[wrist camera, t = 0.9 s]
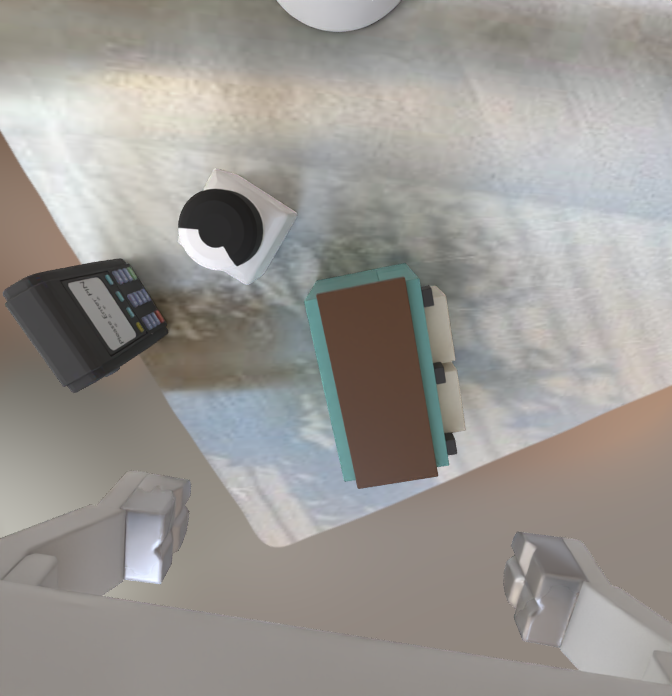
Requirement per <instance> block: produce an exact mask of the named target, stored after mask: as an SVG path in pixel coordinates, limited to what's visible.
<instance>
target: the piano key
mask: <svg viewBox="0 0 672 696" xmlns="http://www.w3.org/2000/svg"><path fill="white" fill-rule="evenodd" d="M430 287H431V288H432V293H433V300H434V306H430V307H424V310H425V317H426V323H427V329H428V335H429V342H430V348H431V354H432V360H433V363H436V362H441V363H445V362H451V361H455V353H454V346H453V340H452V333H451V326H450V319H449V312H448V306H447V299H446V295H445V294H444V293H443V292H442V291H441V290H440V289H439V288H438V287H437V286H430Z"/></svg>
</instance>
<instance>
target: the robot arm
mask: <svg viewBox="0 0 672 696" xmlns="http://www.w3.org/2000/svg"><path fill="white" fill-rule="evenodd" d="M276 1H277V2H278V3H279V4H280V5H281V6H282V7H283V8H284V9H285V10H286V11H287V12H288V13H289V14H290V15H292V16H293V17H294V18H296V19H297V20H299V21H300V22H302V23H304V24H306V25H308V26H311V27H313V28H316V29H320V30H324V31H331V32H345V31H352V30H357V29H360V28H363V27H366V26H368V25H370V24H372V23H374V22H376V21H378V20H379V19H381V18H382V17H384V16H385V15H387V14H388V13H389V12H390V11H391V10H392V9H393V8H395V7H396V6H397V4H398V3H399V2H400V1H401V0H276ZM190 494H191V483H190V480H187V479H181V478H175V477H170V476H165V475H159V474H153V473H148V472H141V471H134V470H129V471H127V472H126V473H125V474H124V475H123V476H122V477H121V479H120V480H119V481H118V482H117V483H116V484H115V485H114V486H113V487H112V488H111V489H110V491H109V492H108V493H107V494H106V495H105V496H104V497H103V498H102V500H101V501H100V502H99V503H98V504H97V505H87V506H85V507H82V508H79V509H77V510H74V511H71V512H69V513H66V514H63V515H61V516H58V517H56V518H53V519H51V520H47V521H45V522H42V523H39V524H37V525H34V526H32V527H29V528H26V529H23V530H21V531H18V532H16V533H13V534H10V535H7V536H5V537H2V538H0V696H672V623H671V622H670V621H668V620H667V619H665V618H664V617H662V616H661V615H659V614H658V613H656V612H655V611H654V610H652V609H651V608H649V607H648V606H646V605H645V604H643V603H642V602H640V601H639V600H637V599H636V598H635V597H633V596H632V595H630V594H629V593H627V592H626V591H624V590H623V589H621V588H620V587H617V586H612V584H611V583H610V581H609V580H608V579H607V577H606V575H605V574H604V573H603V571H602V570H601V568H600V567H599V565H598V564H597V562H596V561H595V559H594V558H593V556H592V555H591V553H590V552H589V551H588V549H587V548H586V546H585V545H584V543H583V542H582V541H580V540H578V539H571V538H564V537H554V536H546V535H539V534H531V533H524V532H517V533H516V534H515V536H514V538H513V541H512V545H511V546H512V549H513V551H514V553H515V555H514V556H512V557H511V558H510V559H509V560H508V561H507V562H506V566H505V570H504V583H503V584H504V590H505V595H506V597H507V601H508V603H510V604H511V605H512V606H513V607H514V608H515V609H516V611H515V614H514V619H515V622H516V625H517V627H518V629H519V632H520V635H521V637H522V640H523V641H526V642H532V643H537V644H542V645H548V646H553V647H559V648H560V650H561V651H562V652H563V653H564V655H565V656H567V658H568V659H569V660H570V661H571V662H572V663H573V664H574V665H575V666H576V667H577V668H578V669H579V671H578V670H572V669H566V668H559V667H553V666H546V665H539V664H534V663H527V662H521V661H513V660H508V659H502V658H495V657H489V656H482V655H476V654H470V653H463V652H456V651H451V650H444V649H438V648H431V647H425V646H419V645H412V644H406V643H400V642H392V641H386V640H380V639H374V638H367V637H361V636H354V635H349V634H342V633H336V632H329V631H323V630H317V629H310V628H304V627H297V626H291V625H285V624H278V623H272V622H266V621H259V620H253V619H247V618H240V617H234V616H227V615H221V614H215V613H208V612H202V611H195V610H189V609H183V608H176V607H170V606H163V605H157V604H150V603H145V602H137V601H131V600H125V599H119V598H113V597H106V596H102V595H104V594H105V593H106V592H108V591H110V590H111V589H113V588H114V587H116V586H117V585H118V584H120V583H122V582H123V579H124V580H132V581H140V582H148V583H156V584H161V582H162V580H163V579H164V577H165V575H166V573H167V571H168V569H169V568H170V565H171V564H172V554H173V553H175V552H177V551H179V549H180V547H181V545H182V543H183V540H184V537H185V534H186V531H187V525H188V520H189V510H188V509H187V507H186V506H185V504H186V503H187V501H188V499H189V497H190Z"/></svg>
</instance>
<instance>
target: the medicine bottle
mask: <svg viewBox="0 0 672 696" xmlns="http://www.w3.org/2000/svg"><path fill="white" fill-rule="evenodd" d="M296 218H297V213H296V212H295V211H294V210H292V209H291V208H289V207H287V206H286V205H284V204H283V203H281V202H280V201H278V200H277V199H275V198H273V197H272V196H270V195H269V194H267V193H266V192H264V191H263V190H261V189H259V188H258V187H256V186H255V185H253V184H252V183H250V182H248V181H247V180H245V179H244V178H242V177H241V176H239V175H238V174H234V173H231V172H227V171H224V170H221V169H217V168H216V169H214V170H213V172H212V174H211V176H210V177H209V179H208V181H207V183H206V185H205V187H204V189H203V191H201V192H199V193H197V194H195V195H194V196H193V197H191V198H190V199H189V200H188V201H187V203H186V204H185V205H184V207H183V209H182V211H181V214H180V217H179V223H178V230H179V237H178V240H177V241H178V243H179V244H180V245H182V246H183V247H184V249H185V251H186V252H187V254H188V255H189V256H190V257H191V258H192V259H193V260H194V261H195V262H197V263H198V264H200V265H201V266H203V267H205V268H208V269H212V270H222V271H224V272H226V273H227V274H229V275H231V276H232V277H234V278H235V279H237V280H239V281H240V282H242V283H244V284H246V285H249V284H250V283H252V282H253V281H255V280H256V279H258V278H259V277H261V276H262V275H263V274H264V273H265V271H266V270H267V268H268V266H269V265H270V263H271V261H272V259H273V258H274V256H275V254H276V253H277V251H278V249H279V247H280V246H281V244H282V242H283V240H284V239H285V237H286V235H287V234H288V232H289V230H290V228H291V227H292V225H293V223H294V221H295V220H296Z"/></svg>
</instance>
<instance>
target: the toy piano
mask: <svg viewBox="0 0 672 696" xmlns="http://www.w3.org/2000/svg"><path fill="white" fill-rule="evenodd" d="M304 303H305V308H306V312H307V317H308V321H309V325H310V330H311V334H312V339H313V343H314V348H315V352H316V357H317V361H318V366H319V370H320V375H321V379H322V384H323V388H324V393H325V397H326V402H327V406H328V411H329V415H330V420H331V424H332V428H333V433H334V437H335V442H336V446H337V451H338V455H339V460H340V464H341V469H342V473H343V478H344V481H345V482H346V481H352V480H356V483H357V487H358V489H361V488H367V487H373V486H380V485H386V484H393V483H399V482H405V481H412V480H418V479H425V478H431V477H437V476H438V471H437V467H441V466H448V465H449V460H448V455H454V454H457V449H456V443H455V438H454V436H453V434H452V432H448V433H444V429H443V423H442V417H441V410H440V404H439V398H438V392H437V385H436V384H443V383H446V378H445V371H444V367H443V365H442V363H441V362H436V363H433V360H432V354H431V348H430V342H429V335H428V329H427V323H426V317H425V310H424V307H430V306H434V300H433V293H432V288H431V287H430V286H429V285H428V286H423V287H421V285H420V279H419V278H418V277H417V276H416V275H415V273H414V272H413V271H412V270H411V269H410V268H409V267H408V265H407V264H406V263H403V264H398V265H393V266H388V267H383V268H378V269H373V270H368V271H363V272H358V273H353V274H348V275H343V276H338V277H333V278H328V279H323V280H318V281H316V283H315V284H314V286H313V288H312V289H311V291H310V293H309V294H308V296H307V298H306V299H305V301H304Z"/></svg>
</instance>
